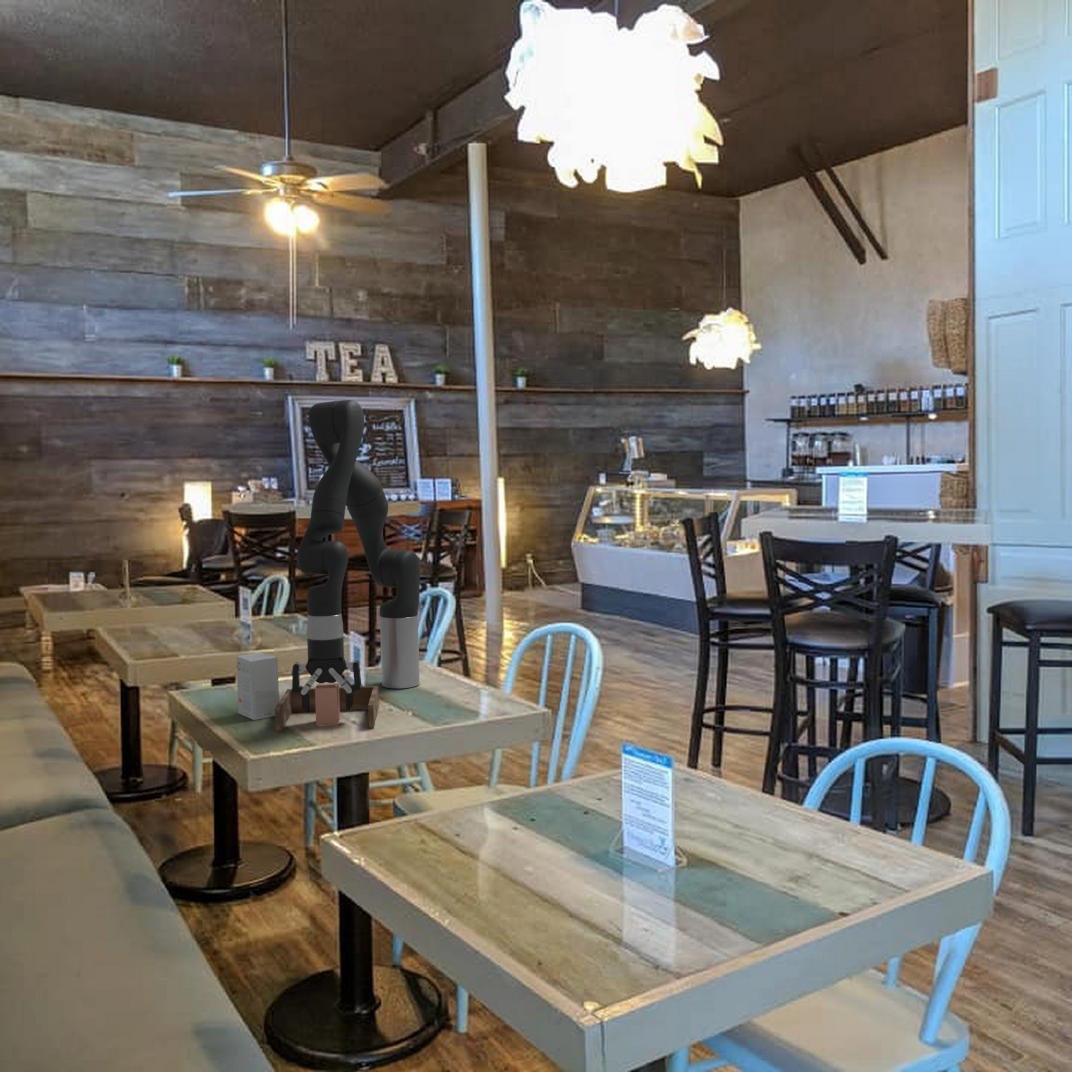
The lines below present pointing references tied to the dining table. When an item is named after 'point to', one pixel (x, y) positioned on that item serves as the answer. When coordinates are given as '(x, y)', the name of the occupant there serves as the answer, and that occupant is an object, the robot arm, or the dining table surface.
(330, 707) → the terracotta block
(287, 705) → the u-shaped bracket
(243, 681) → the small box
